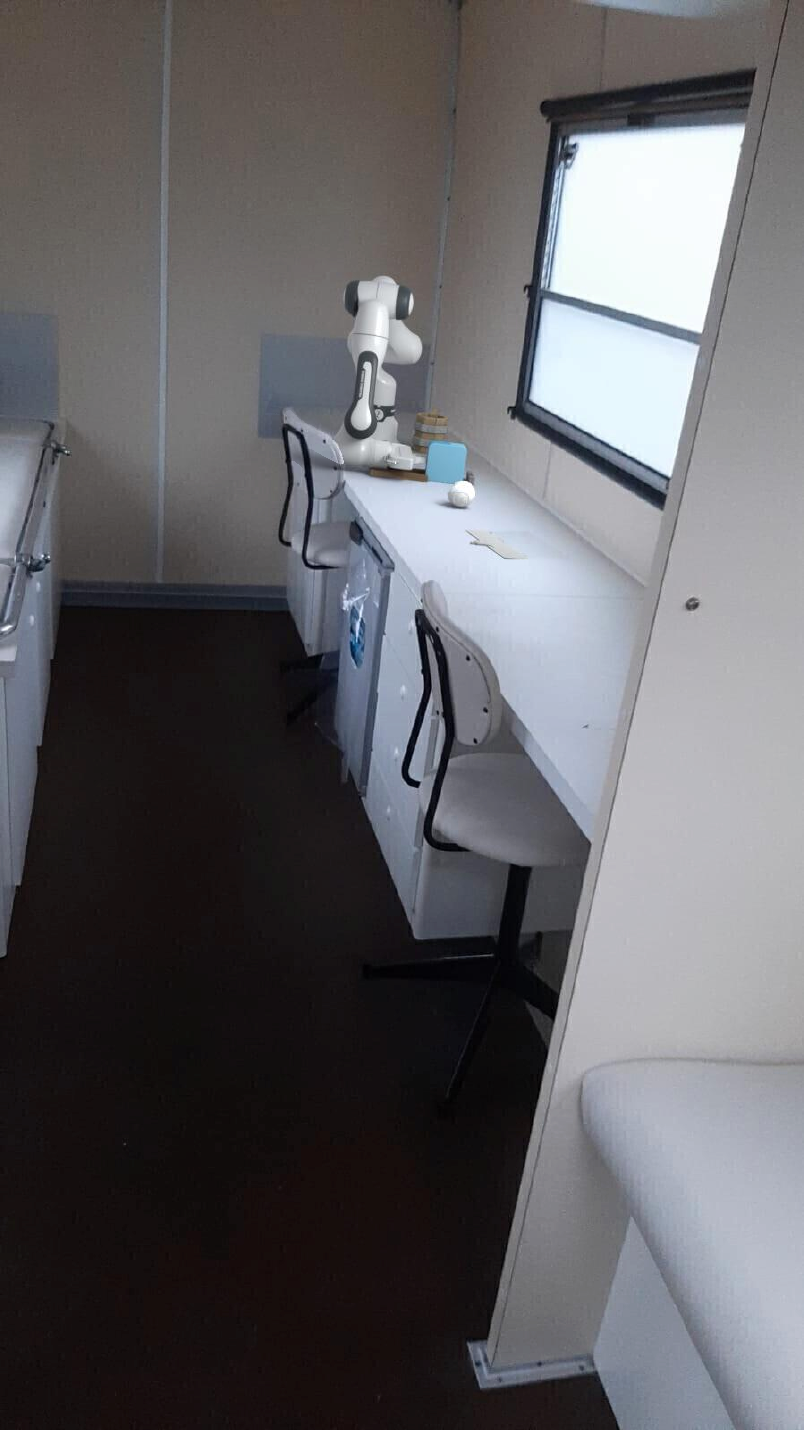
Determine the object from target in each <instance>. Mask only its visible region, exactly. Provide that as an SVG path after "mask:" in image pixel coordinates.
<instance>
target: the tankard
mask: <svg viewBox="0 0 804 1430" xmlns="http://www.w3.org/2000/svg"><path fill="white" fill-rule="evenodd" d="M448 419H449V417H448V416H445V415H443V414H439V413H438V407H433V408H432V411H431V412H418V413H417V414H416V419H415V421H414V423H413V429H414V434H413V435H412V437H411V438H412V439H411V443H412V444H413V445H412V447H411V450H412V453H413V454H418V455H421V456H426V458H427V451H428V444H429V443H430V442H431V441H441V442H447V438H446V434H447V432H448V431H449V424H448Z"/></svg>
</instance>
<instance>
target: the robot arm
mask: <svg viewBox="0 0 804 1430" xmlns="http://www.w3.org/2000/svg"><path fill="white" fill-rule="evenodd" d="M342 297H343V300H342V301H343V304H344V310H346V312H347V313H348V314H349V315H352V318H354V320H355V321H354V325H353V328H352V330H351V331H350V332H349V334H348V337H347V348H348V351H349V353H350V354H351V356H352V360H353V363H354V368H355V381H354V382H355V383H354V390H353V397H352V401H351V405H350V407H349V408H348V409H347V412H346V414H345V416H344V419H343V423H342V425H341V426H340V427H339V429H338V431H337V433H336V434H335V435H334V436H333V437H332V440H334V441H335V442H336V443H337V444H338V446H339V449H340V451H341V453H342V457H343V460H344V464H345V466H352V467H366V468H369V469H370V468H375V469H384V470H387V466H389V467H391V468H396V469H403V470H412V469H413V468H414V464H415V465H416V464H424V465H426V461H427V458H426V456H421V455H418V454H413V453H412V450H411V448H412V447H411V446H409V445H407V444H402V443H401V442H400V441H399V440H398V439H397V436H398V435H397V434H398V425H399V424H398V421H397V419H396V418H395V412H396V405H395V400H396V392H397V381H396V380H395V378H394V377H393V376H392V375H391V374H389V373H388V372H387V371H385V370H384V369H383V367H382V365H383V363H387V364H393V365H394V364H395V365H401V366H402V365H414V364H416V363H417V362H418V361H419V359H421V356H422V353H423V343H422V340H421V338H420V336H419V335H417V334H415V333H414V332H413V331H411V330H410V329H409V328H408V327H407V326H406V325H405V323H404V322H403V321H404V320H407V319H408V318H409V317H410V315H411V313H412V311H413V310H414V309H413V308H414V304H415V303H414V300H415V299H414V295H413V291H412V290H411V289H410V287H408V286H406V285H403V284H400V285H398V284H397V282H396V281H395V280H394V279H393V278H391V277H390V276H387V275H379V276H376V277H375V278H374V279H372V280H360V279H356V280H355V279H354V280H350V281H349V282H348V283H347V284H346V286H345V289H344V292H343V296H342ZM332 440H331V441H332ZM344 464H343V465H344Z"/></svg>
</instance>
